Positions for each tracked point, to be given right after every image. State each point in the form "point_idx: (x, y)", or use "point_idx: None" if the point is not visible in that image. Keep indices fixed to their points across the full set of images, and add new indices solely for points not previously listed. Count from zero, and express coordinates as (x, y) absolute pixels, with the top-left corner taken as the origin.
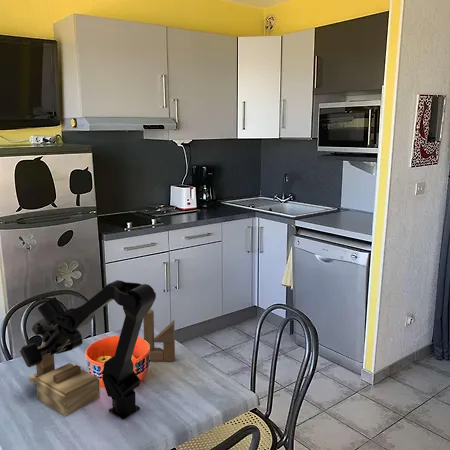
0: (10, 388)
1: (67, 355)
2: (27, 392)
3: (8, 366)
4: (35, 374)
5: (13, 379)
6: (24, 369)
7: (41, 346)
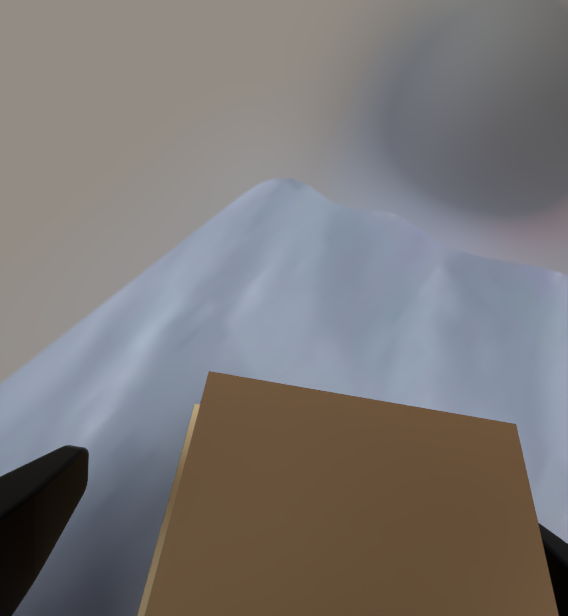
0: (55, 383)
1: (544, 372)
2: None
3: (261, 200)
4: None
5: (164, 312)
6: (282, 281)
7: (358, 453)
